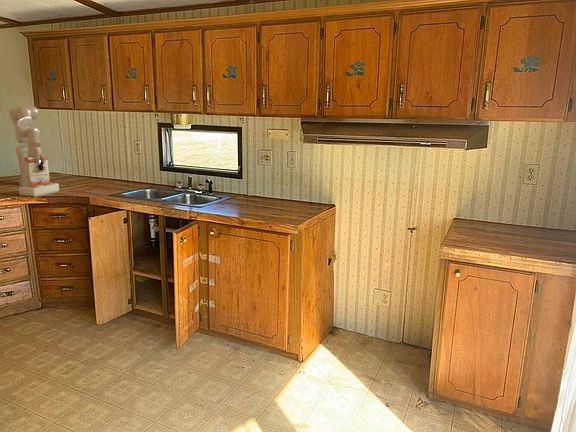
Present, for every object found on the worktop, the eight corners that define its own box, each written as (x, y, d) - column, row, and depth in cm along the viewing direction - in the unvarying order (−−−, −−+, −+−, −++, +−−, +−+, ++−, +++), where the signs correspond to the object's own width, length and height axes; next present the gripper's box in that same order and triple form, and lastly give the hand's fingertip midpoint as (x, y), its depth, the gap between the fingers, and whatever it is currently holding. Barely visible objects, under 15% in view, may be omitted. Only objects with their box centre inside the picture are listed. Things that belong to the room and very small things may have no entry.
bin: (19, 195, 312) (18, 186, 310) (45, 189, 332) (44, 182, 331) (34, 196, 308) (33, 188, 306) (59, 191, 328) (58, 183, 326)
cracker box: (31, 186, 311) (27, 157, 306) (27, 185, 314) (23, 156, 309) (50, 184, 322) (47, 156, 317) (46, 183, 325) (43, 155, 320)
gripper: (20, 145, 310) (23, 169, 315) (39, 146, 305) (42, 171, 309) (29, 144, 317) (32, 168, 322) (48, 145, 312) (50, 170, 316)
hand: (37, 169), depth 315 cm, fingers closed on cracker box, 7 cm apart
